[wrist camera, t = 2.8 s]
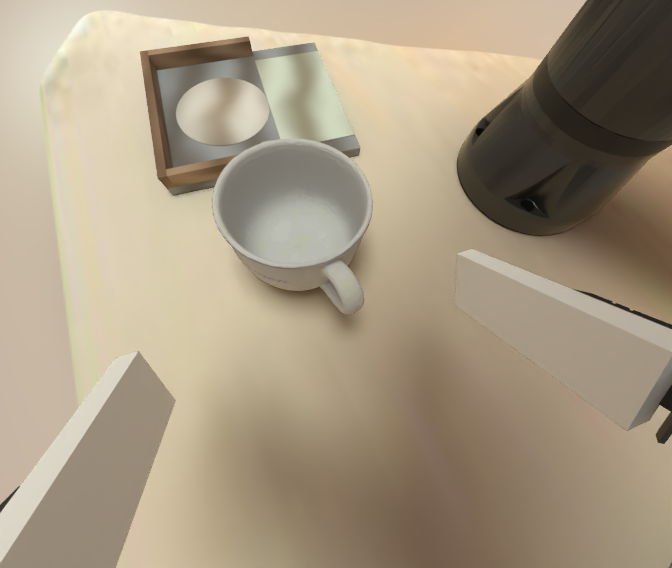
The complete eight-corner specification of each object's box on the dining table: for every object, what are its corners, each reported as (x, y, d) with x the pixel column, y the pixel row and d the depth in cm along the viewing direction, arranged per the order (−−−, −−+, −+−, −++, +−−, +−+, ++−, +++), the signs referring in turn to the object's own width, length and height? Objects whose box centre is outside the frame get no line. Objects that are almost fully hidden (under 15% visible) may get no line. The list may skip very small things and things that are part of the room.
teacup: (234, 215, 25) (196, 150, 18) (337, 188, 27) (343, 118, 19) (271, 351, 21) (243, 343, 14) (387, 310, 23) (420, 284, 15)
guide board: (314, 51, 33) (313, 27, 31) (359, 154, 28) (362, 135, 26) (154, 76, 30) (140, 51, 28) (173, 195, 25) (157, 178, 23)
